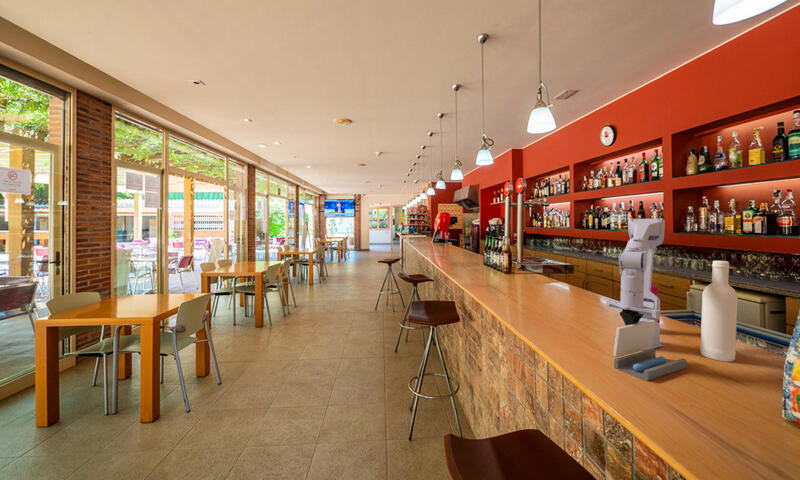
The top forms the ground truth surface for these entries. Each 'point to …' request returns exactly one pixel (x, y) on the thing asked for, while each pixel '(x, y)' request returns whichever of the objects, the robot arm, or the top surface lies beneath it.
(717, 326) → the bottle
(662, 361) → the blue rounded capsule rod
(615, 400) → the top surface
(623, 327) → the panel
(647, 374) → the cable duct
